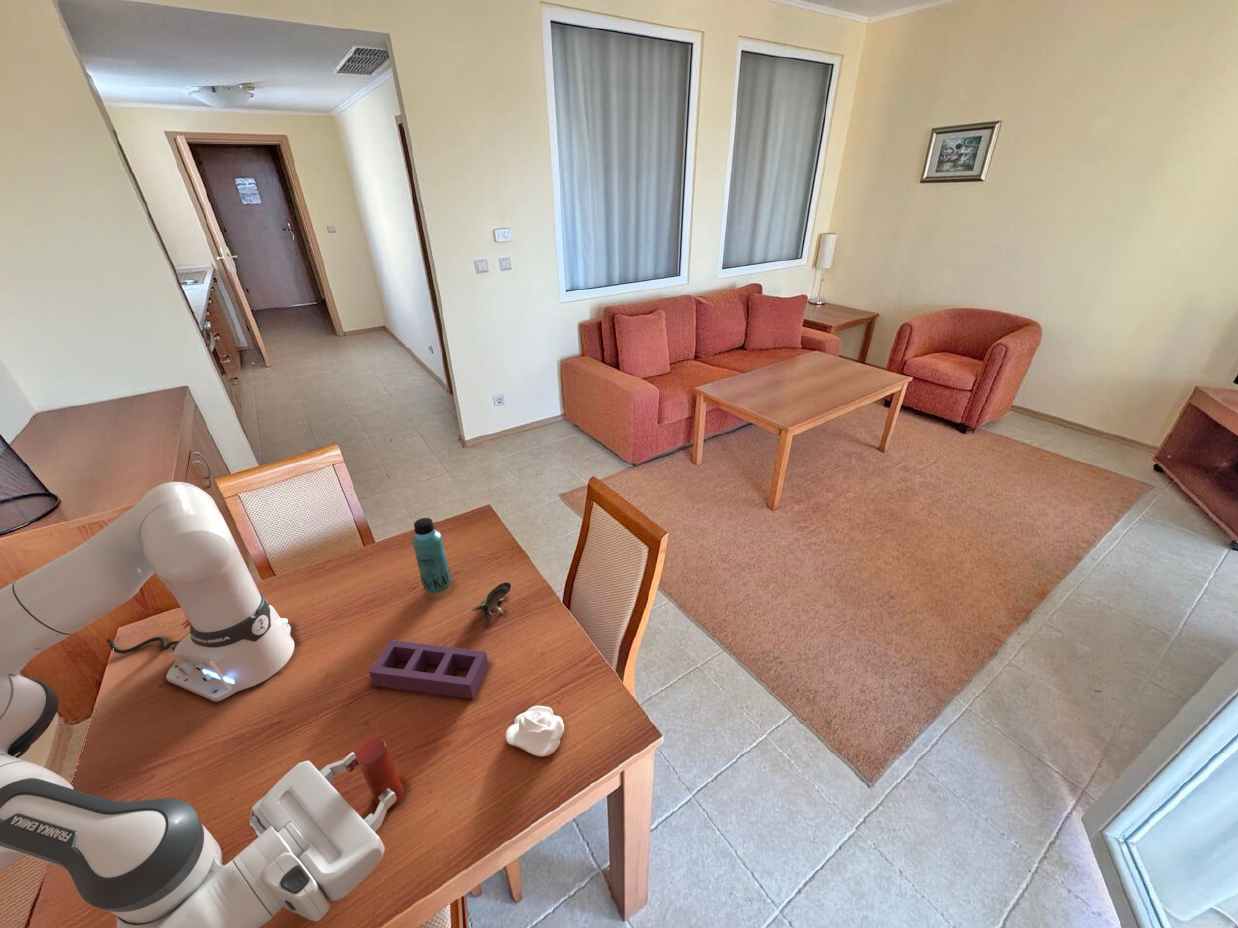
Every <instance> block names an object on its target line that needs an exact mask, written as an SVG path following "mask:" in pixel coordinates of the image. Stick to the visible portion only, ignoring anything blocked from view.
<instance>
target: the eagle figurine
mask: <svg viewBox="0 0 1238 928" xmlns="http://www.w3.org/2000/svg"><path fill="white" fill-rule="evenodd" d="M511 588H512V584H511V583H510V582H507V581H504V582H501V583H500V584H498V585H497V586H496V587H495V588H493V589H492V590H491V591H490V592H489V593H488V594H487V596H486V598H485V599H484V600H482V602H480V604H478V605H476V606H474V607H472V608H471V609H470V611H471V612H478V611H480V610H483V611H482V612H479V615H482V616H480V617H479V620H484V625H485V626H486V625H487V624H488V623H489V622H490V621H491V618H493V617H497V616H498V614H502V615H504V611H503V609H502V608H501V607H499V606H498V603H499V602H501V601H504V600H505V598H504V597H505V596H506V595H507V594H509V592H510V591H511Z"/></svg>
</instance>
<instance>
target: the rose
mask: <svg viewBox="0 0 1238 928" xmlns="http://www.w3.org/2000/svg"><path fill="white" fill-rule="evenodd" d="M564 732H565V724H564V721H563V718H562V717H561V716H560V715H554V711H553V709H552V708H551V707H549V706H543V705H534V706H531V707H530V708H528V709H527V710H526V711H525V712H522V713H519V714H517V715H516V717H515V718H514V723H513V724H511V725H510V726H508V728H507V729H506V731H505V740H506V742H507V744H509V745H510V746H514V747H516V748H518V749H521V750H523V751H524V752H527V753H529V754H531V755H534V756H536V757H547V756H550V755H552V754H554V753H555V752H556V750H557V749H558V748H559V746H560V744H561V738H562V736H563V735H564Z"/></svg>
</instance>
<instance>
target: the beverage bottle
mask: <svg viewBox="0 0 1238 928" xmlns="http://www.w3.org/2000/svg"><path fill="white" fill-rule="evenodd" d="M413 526H414V533H415V535H414V536H413V538H412V540H411V543H412V545H413V550H414V554H415V559H416V562H417V567H418V571H419V574H420V575H419V576H420V580H421V583H422V587H423V589H424V591H425V592H427V593H428V594H439V593H442V592H444V591H446V590H447V589H448V588H449V587H450V586H451V580H452V579H451V578H452V577H451V572H450V567H449V564H448V560H447V555H446V552H445V548H444V543H443V539H442V538H443V537H442V534H441V532H440V531H439V530H436V529H435V524H434V522H433V519H432V518H430V517H423V518H422V517H421V518H419V519H417V520H416V521H415V522H414V523H413Z"/></svg>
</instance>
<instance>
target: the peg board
mask: <svg viewBox="0 0 1238 928" xmlns="http://www.w3.org/2000/svg"><path fill="white" fill-rule="evenodd" d="M399 661H402V662H407V663H406V665H405V666H404V668H402V669H401V668H395V666H396V664H397V663H398V662H399ZM427 665H435V666H437V668H436V670H435V671H434V673H433V672H424V670H425V668H426V666H427ZM458 668H459V669H466V670H468V672H467V674H466V675H465V677H464V676H454V675H453V674H454V672H455V670H456V669H458ZM488 668H489V660H488V656H487V651H484V650H475V649H468V648H459V647H451V646H444V645H443V646H442V645H436V644H435V645H434V644H426V643H418V642H410V641H401V640H394V639H391V640H390V641H389V642H388V644H387V645H386V647H384V650H383V651H382V653H381V654H380V655H379V656H378V658H377V659H376V661H375V663H374V664H373V665H372V667H371V668H370V669H369V671H368V674H369V677H370V679H371V682H372V684H373V686H374V687H381V688H388V689H396V690H402V691H409V692H410V691H411V692H416V693H417V692H418V693H424V694H425V693H426V694H433V695H438V696H439V695H440V696H446V697H455V698H462V699H469V700H474V698H475V695H476V694H477V692H478V689H479V687H480V685H481V683H482V680H483V678H484V676H485V674H486V672H487V669H488Z"/></svg>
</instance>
